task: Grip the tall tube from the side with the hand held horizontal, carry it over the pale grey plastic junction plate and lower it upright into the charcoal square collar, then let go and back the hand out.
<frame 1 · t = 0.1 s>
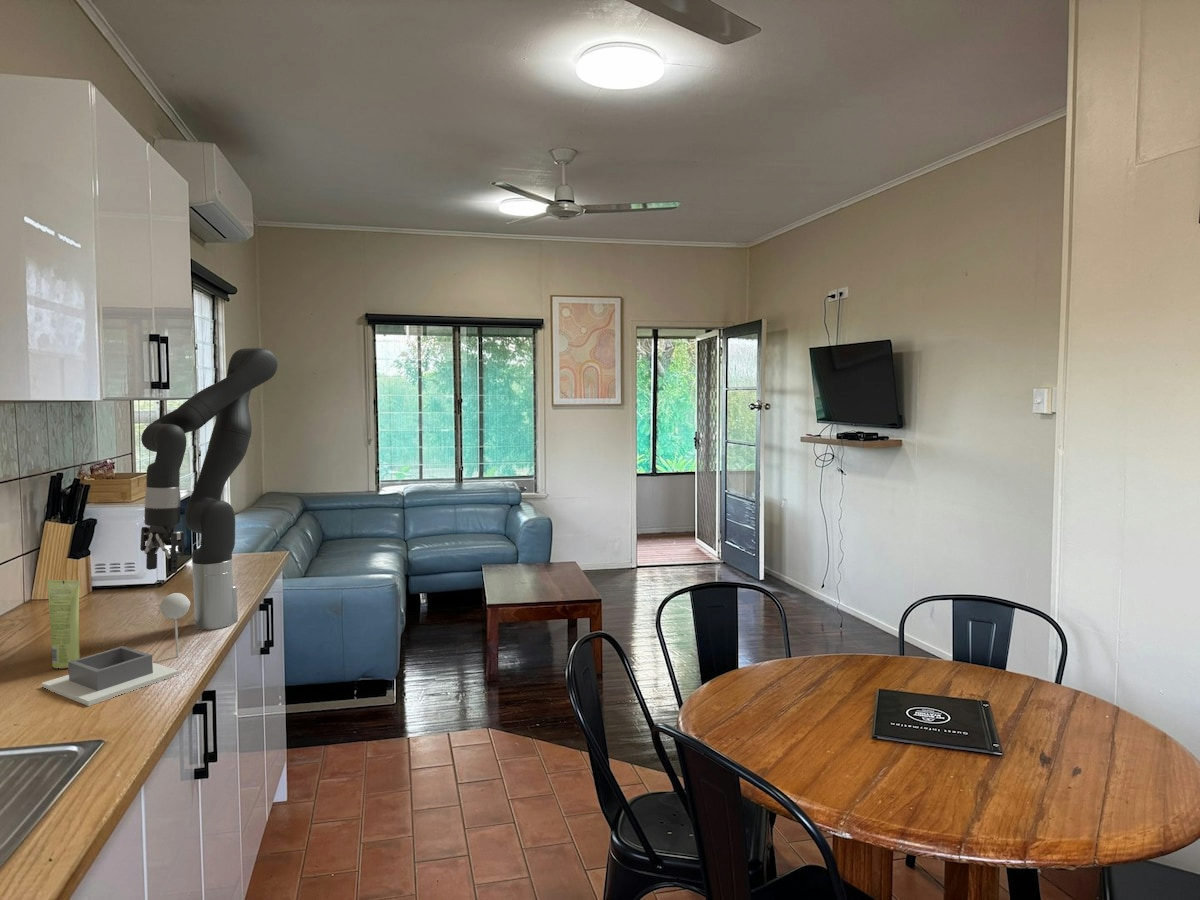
hand: (161, 571, 181), 17 cm above the table, tool pointing down, fingers open, 8 cm apart
lollipop: (177, 657, 171), on the table
tube: (67, 666, 166), on the table
socket: (111, 681, 157), on the table
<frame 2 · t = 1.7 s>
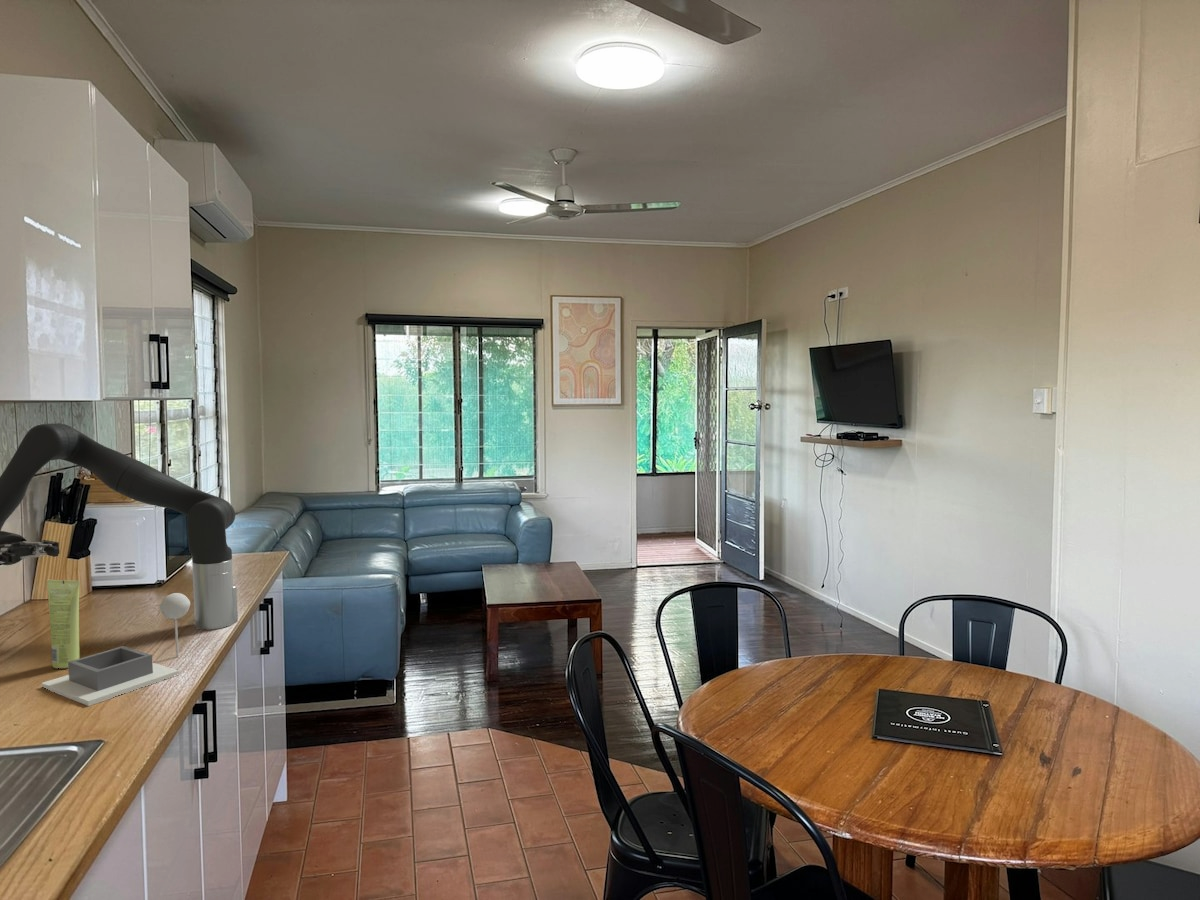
hand: (35, 555, 169), 24 cm above the table, tool horizontal, fingers open, 8 cm apart
nothing on the table moved.
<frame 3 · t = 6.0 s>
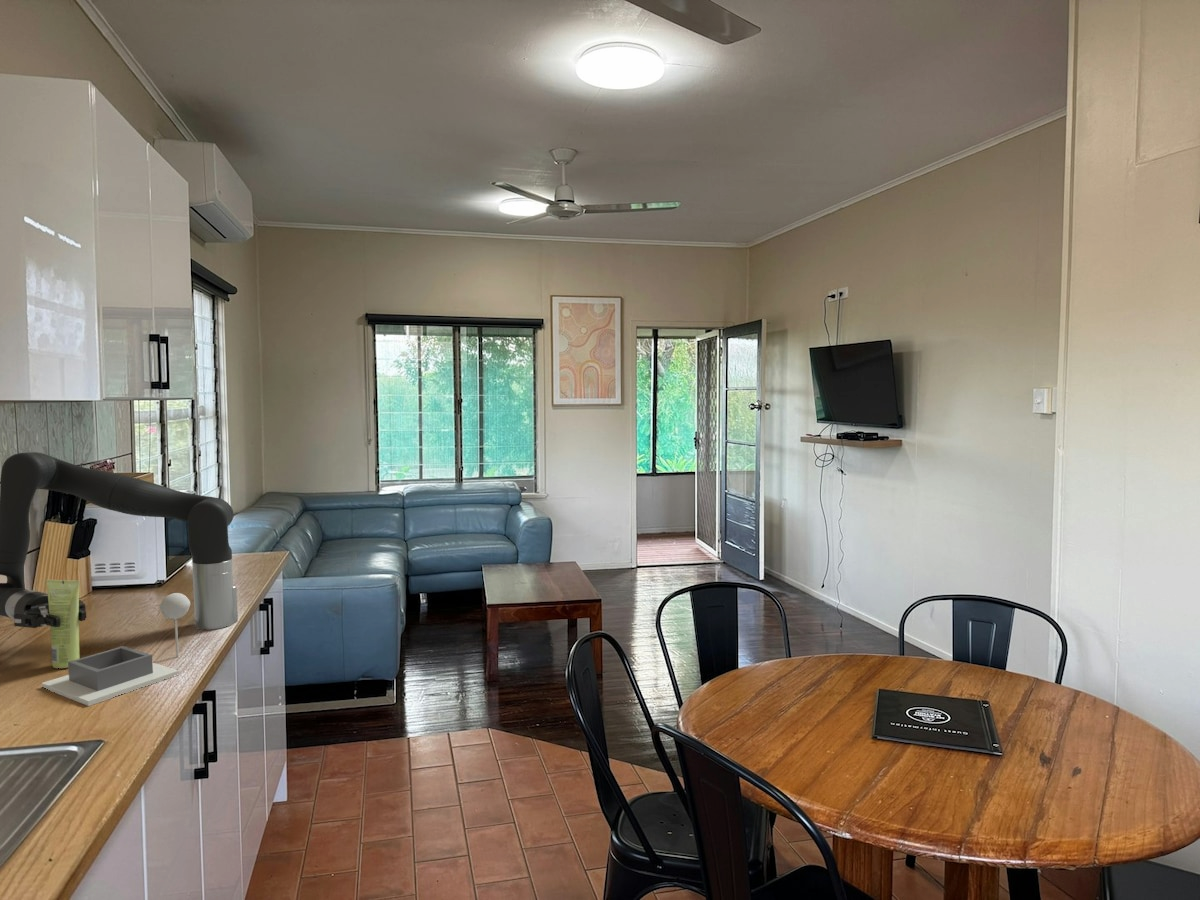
hand: (71, 619, 163), 11 cm above the table, tool horizontal, fingers closed on tube, 4 cm apart
tube: (67, 666, 166), on the table, touching gripper
everything else where it was.
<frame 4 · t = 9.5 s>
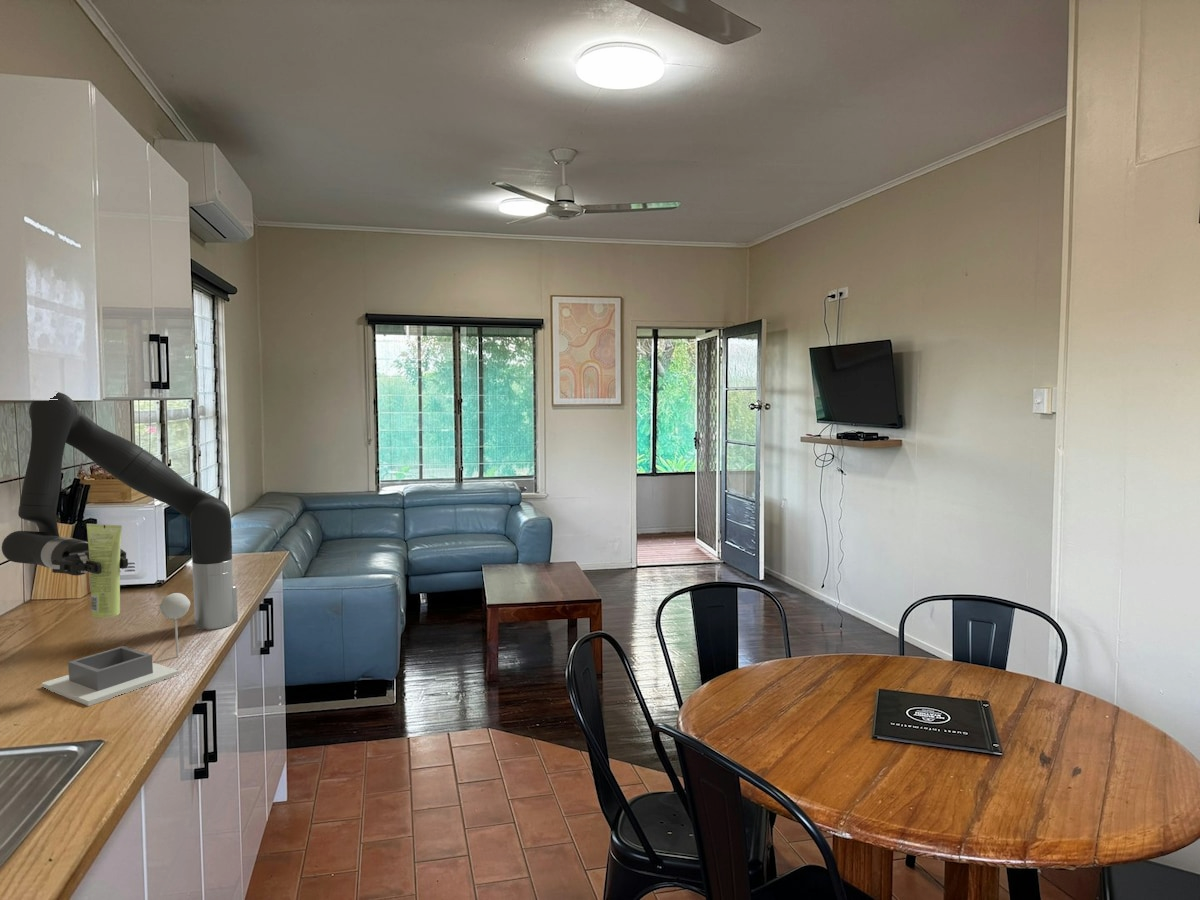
hand: (112, 566, 154), 25 cm above the table, tool horizontal, fingers closed on tube, 4 cm apart
tube: (107, 616, 156), point 14 cm above the table, touching gripper
everything else where it was.
when the fingers open (13 cm above the table, at t = 12.9 s): tube drops 1 cm, resting on socket.
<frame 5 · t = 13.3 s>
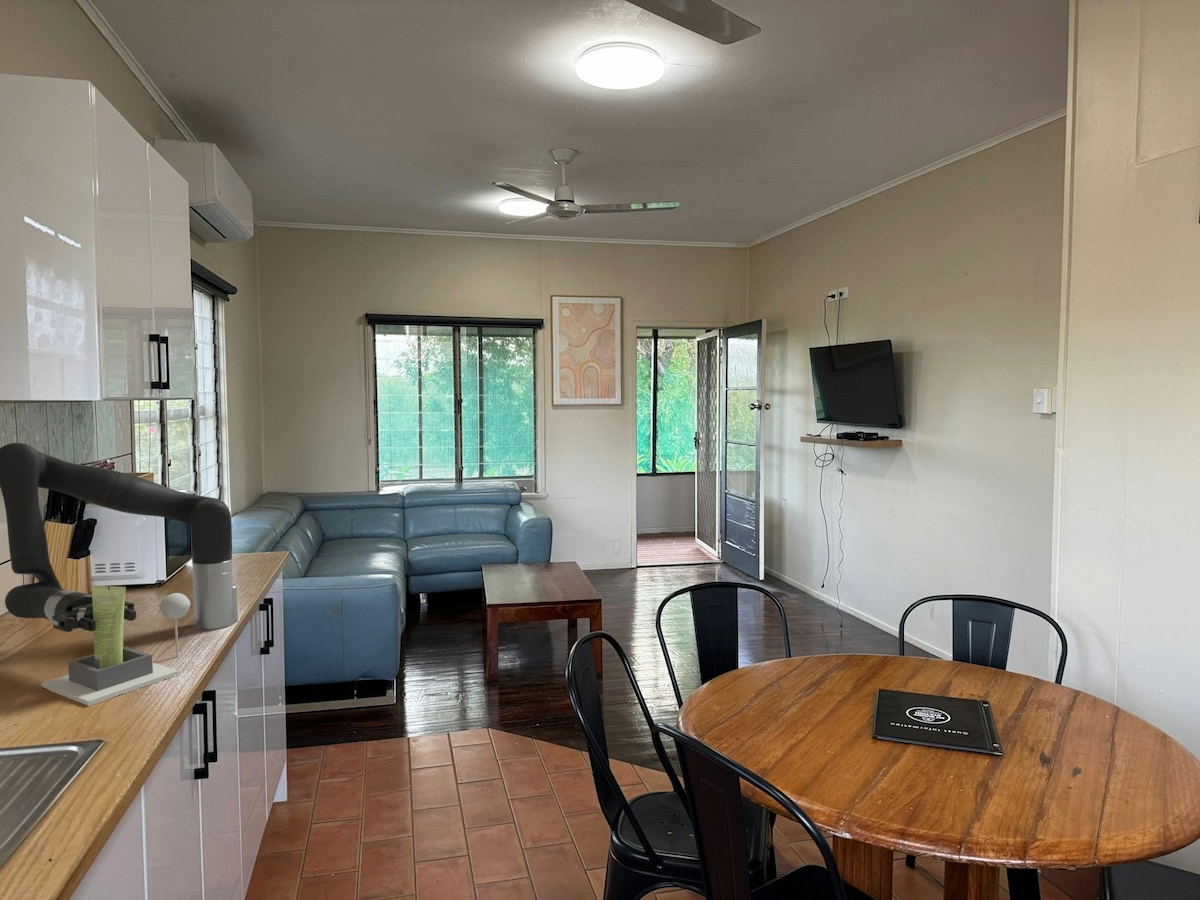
hand: (114, 620, 155), 14 cm above the table, tool horizontal, fingers open, 7 cm apart
tube: (109, 677, 157), point 1 cm above the table, touching socket
everything else where it was.
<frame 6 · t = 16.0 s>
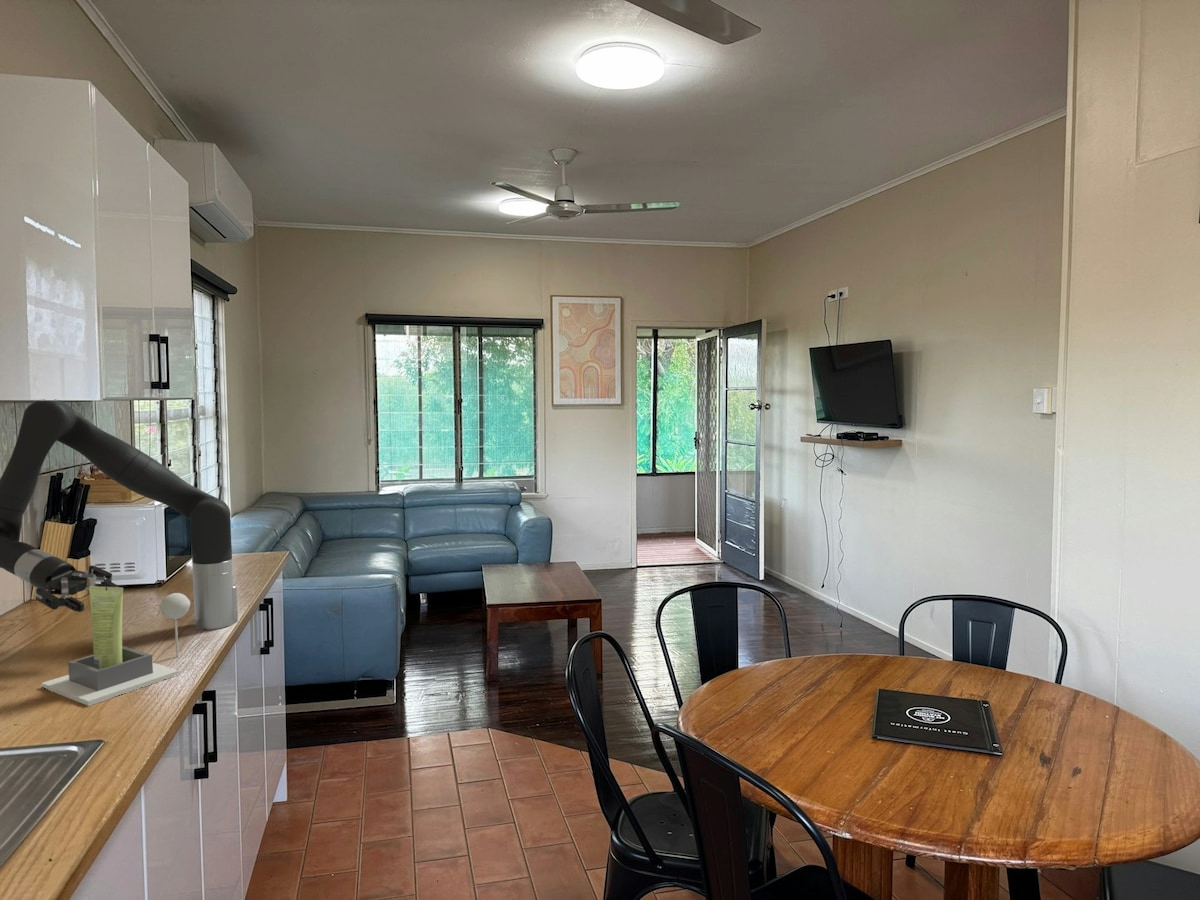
hand: (100, 599, 166), 15 cm above the table, tool tilted 70°, fingers open, 8 cm apart
nothing on the table moved.
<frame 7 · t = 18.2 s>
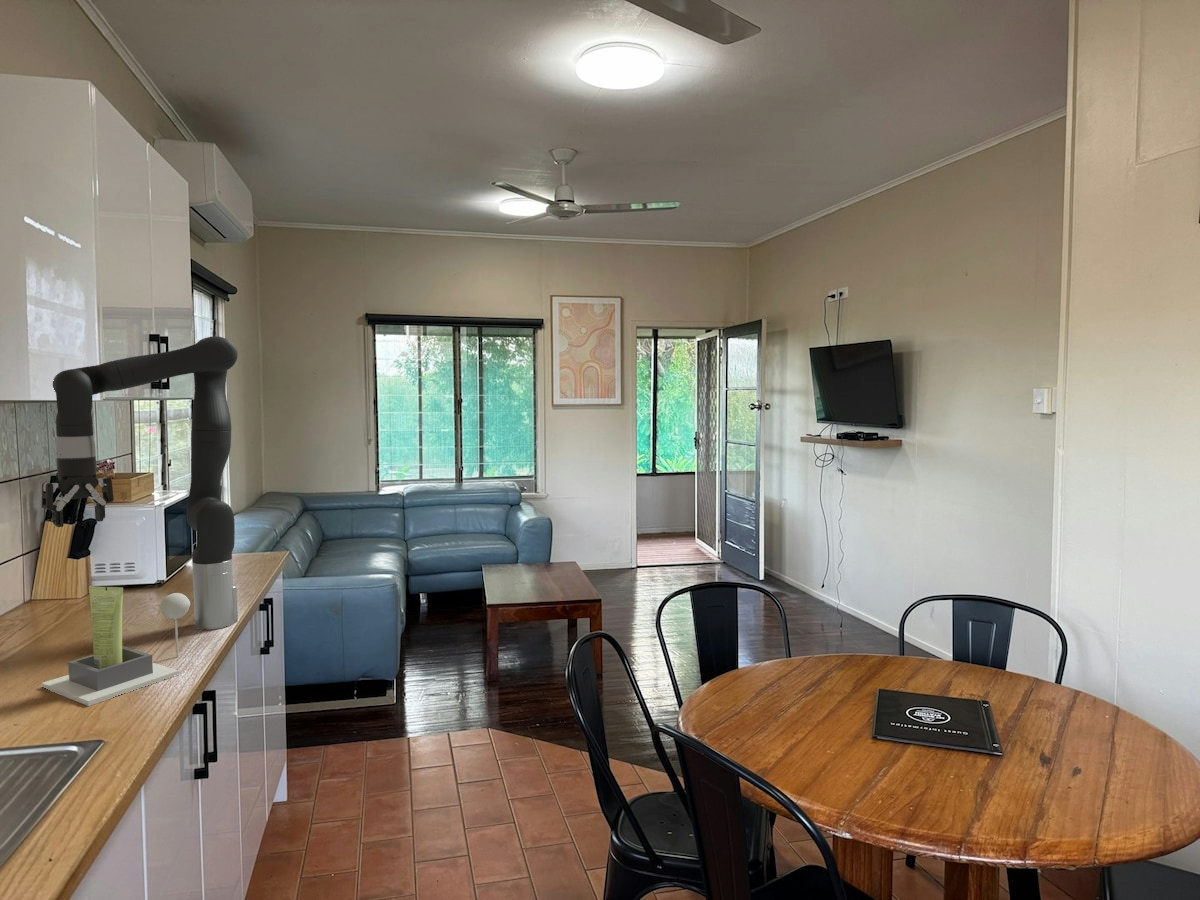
hand: (80, 523, 174), 30 cm above the table, tool pointing down, fingers open, 8 cm apart
nothing on the table moved.
at the end: tube 0.3 cm off-centre on the socket, point 0.8 cm above the socket's base; tube tilted 0°; the gripper is holding nothing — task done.
